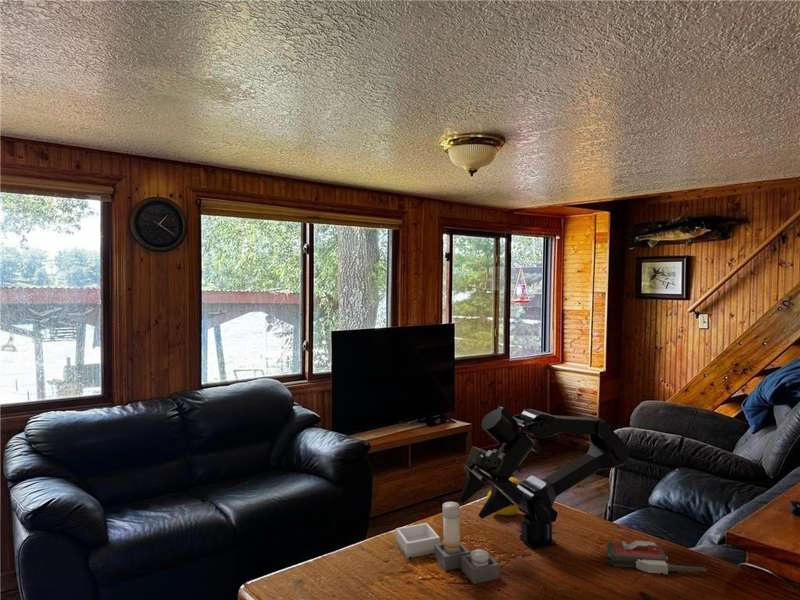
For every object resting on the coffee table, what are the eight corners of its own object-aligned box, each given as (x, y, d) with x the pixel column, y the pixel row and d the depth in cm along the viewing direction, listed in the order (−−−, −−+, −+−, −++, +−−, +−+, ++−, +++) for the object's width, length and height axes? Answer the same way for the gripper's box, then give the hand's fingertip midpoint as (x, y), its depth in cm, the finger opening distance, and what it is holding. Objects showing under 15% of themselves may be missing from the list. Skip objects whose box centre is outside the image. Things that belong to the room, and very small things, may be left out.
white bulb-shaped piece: (456, 555, 128) (455, 500, 127) (463, 563, 124) (462, 507, 124) (441, 558, 127) (439, 503, 126) (447, 567, 123) (446, 509, 123)
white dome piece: (483, 568, 122) (483, 548, 122) (492, 576, 119) (491, 556, 119) (468, 571, 121) (468, 551, 121) (476, 580, 118) (475, 559, 117)
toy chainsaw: (608, 572, 120) (708, 578, 117) (608, 552, 120) (708, 558, 116) (601, 552, 129) (693, 557, 125) (600, 533, 128) (693, 538, 125)
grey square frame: (458, 552, 129) (458, 539, 129) (470, 565, 124) (470, 552, 124) (434, 557, 127) (434, 544, 127) (445, 570, 122) (444, 557, 122)
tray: (427, 536, 138) (426, 522, 138) (440, 551, 130) (439, 537, 130) (396, 542, 135) (395, 528, 135) (407, 558, 127) (406, 543, 127)
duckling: (527, 509, 152) (527, 473, 151) (531, 518, 146) (531, 481, 146) (486, 510, 152) (485, 474, 152) (488, 518, 147) (488, 481, 146)
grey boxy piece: (486, 564, 124) (485, 551, 124) (499, 578, 118) (499, 564, 118) (461, 569, 122) (461, 556, 122) (473, 583, 116) (473, 570, 116)
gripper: (469, 424, 137) (430, 475, 133) (511, 445, 119) (466, 504, 116) (498, 451, 140) (459, 501, 136) (542, 476, 122) (499, 534, 119)
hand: (470, 509), depth 127 cm, fingers open, 9 cm apart
